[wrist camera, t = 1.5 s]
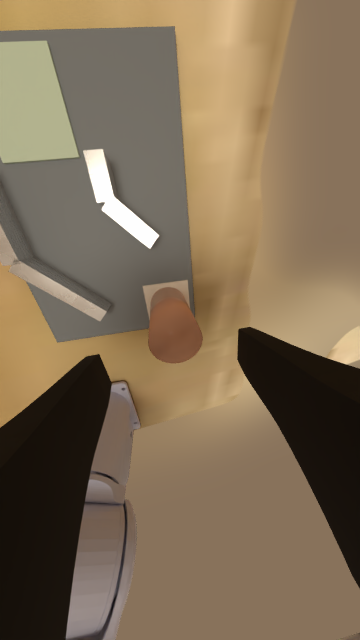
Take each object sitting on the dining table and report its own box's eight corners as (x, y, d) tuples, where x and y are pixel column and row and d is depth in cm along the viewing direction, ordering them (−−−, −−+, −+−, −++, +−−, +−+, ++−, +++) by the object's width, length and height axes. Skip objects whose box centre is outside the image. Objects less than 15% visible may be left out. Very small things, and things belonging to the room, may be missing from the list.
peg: (187, 317, 19) (203, 358, 12) (153, 322, 18) (153, 367, 12) (183, 284, 17) (201, 313, 11) (147, 289, 17) (143, 322, 10)
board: (194, 319, 19) (195, 321, 19) (59, 340, 18) (56, 343, 18) (173, 33, 11) (175, 22, 10) (-92, 41, 9) (-106, 29, 9)
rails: (168, 303, 18) (169, 311, 16) (50, 320, 17) (38, 330, 15) (147, 158, 13) (146, 145, 11) (-24, 172, 12) (-55, 161, 10)
